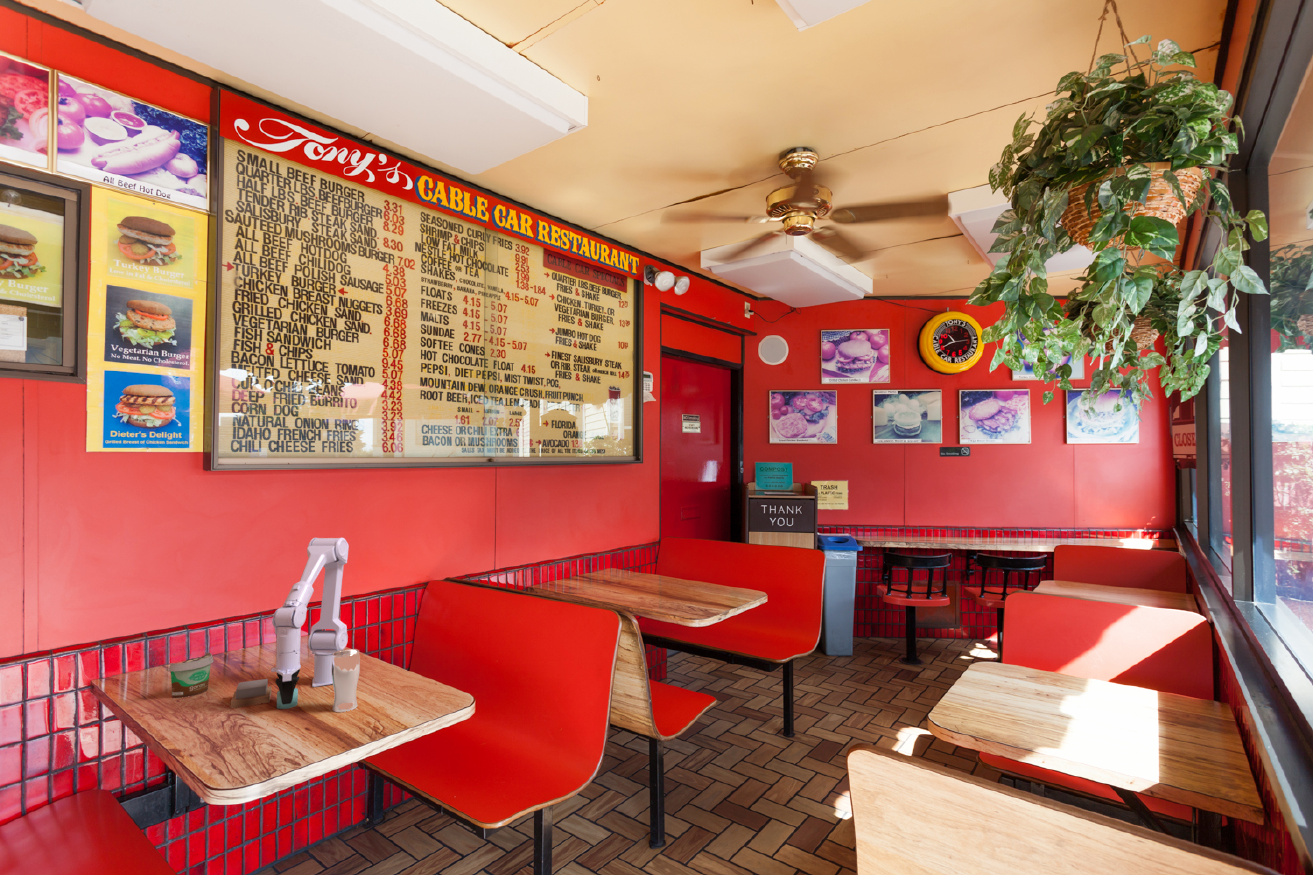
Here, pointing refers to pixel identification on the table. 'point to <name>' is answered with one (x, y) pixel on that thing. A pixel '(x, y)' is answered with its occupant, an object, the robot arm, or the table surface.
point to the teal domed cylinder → (286, 706)
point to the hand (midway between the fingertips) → (287, 700)
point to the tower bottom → (251, 699)
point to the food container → (190, 676)
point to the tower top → (251, 689)
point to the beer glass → (345, 679)
